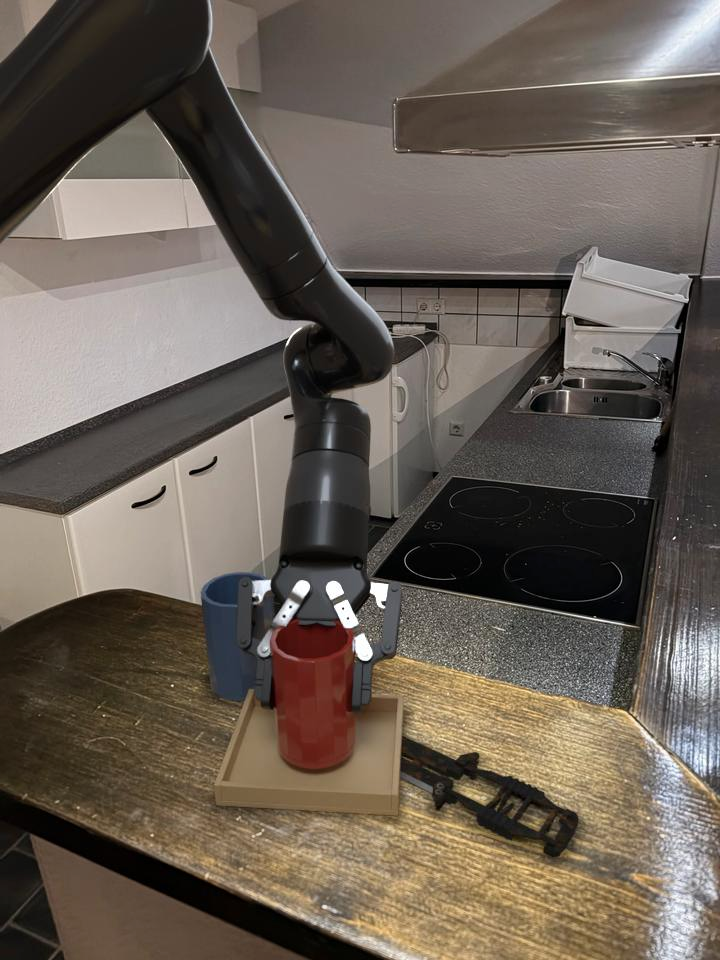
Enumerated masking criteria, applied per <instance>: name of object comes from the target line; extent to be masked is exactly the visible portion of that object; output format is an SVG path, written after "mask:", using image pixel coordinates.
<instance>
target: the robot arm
mask: <svg viewBox="0 0 720 960" xmlns="http://www.w3.org/2000/svg"><path fill="white" fill-rule="evenodd" d="M212 33H213V11H212V5H211V0H55V1H54V2H53V3H52V4H51V6H50V7H49V8H48V9H47V11H46V12H45V13H44V15H43V16H42V17H41V18H40V19H39V20H38V22H37V23H35V25H34V26H33V27H32V29H31V30H30V31H29V32H28V33H27V34H26V36H25V37H23V39H22V40H21V41H20V42H19V43H18V44H17V46H16V47H15V48H14V49H12V50H11V52H9V54H8V55H7V56H6V57H4V59H3V60H2V61H0V246H1V245H2V244H3V243H4V242H6V240H7V239H8V238H10V236H12V235H13V233H14V232H15V231H16V230H17V229H19V227H20V226H22V224H23V223H24V222H25V221H26V220H27V219H28V218H29V217H30V216H31V215H32V214H33V213H34V212H36V210H37V209H38V208H39V207H40V205H42V203H43V202H45V200H46V199H47V198H48V197H49V195H51V193H52V192H53V191H54V190H55V189H56V188H57V187H58V185H59V184H61V182H62V181H63V180H64V179H65V178H66V176H67V175H68V174H69V173H70V172H71V170H73V168H75V166H76V165H77V164H79V162H81V160H82V159H83V158H85V157H86V156H87V155H88V154H89V153H90V152H91V151H93V150H94V149H95V148H96V147H98V146H99V145H100V144H101V143H103V142H104V141H106V140H107V139H108V138H109V137H111V136H112V135H113V134H115V133H116V132H118V131H119V130H120V129H122V128H123V127H125V126H126V125H128V123H130V122H131V121H133V120H134V119H135V118H137V117H138V116H140V115H141V114H142V113H144V112H145V113H146V115H147V116H148V117H149V118H150V120H151V121H152V123H153V124H154V125H155V127H157V129H158V131H159V132H160V133H161V135H162V136H163V138H164V139H165V141H166V142H167V143H168V145H169V146H170V148H171V150H172V151H173V152H174V154H175V156H176V157H177V159H178V160H179V161H180V163H181V164H182V167H183V168H184V170H185V172H186V173H187V175H188V177H189V178H190V180H191V182H192V183H193V185H194V187H195V189H196V191H197V192H198V194H199V197H200V198H201V200H202V201H203V203H204V205H205V207H206V208H207V210H208V213H209V214H210V216H211V218H212V220H213V222H214V223H215V224H214V225H216V227H217V229H218V230H219V233H220V234H221V236H222V238H223V240H224V241H225V244H226V246H227V247H228V249H229V251H230V253H231V254H232V256H233V257H234V259H235V261H236V262H237V264H238V265H239V268H240V269H241V271H242V272H243V273H244V276H246V278H247V281H249V283H250V285H251V286H252V288H253V289H254V292H256V294H257V296H258V297H259V299H260V301H261V302H262V304H263V305H264V307H265V308H266V309H267V311H268V312H269V313H270V314H271V315H272V316H273V317H274V318H276V319H278V320H281V321H288V322H301V321H302V322H311V323H309V324H306V325H303V326H301V327H299V328H297V329H296V330H294V332H292V334H291V335H290V336H289V338H288V340H287V342H286V344H285V347H284V350H283V357H282V359H283V360H282V361H283V370H284V373H285V377H286V381H287V386H288V391H289V396H290V403H291V409H292V415H293V422H294V431H293V432H294V433H293V440H292V441H293V442H292V449H291V450H292V451H291V463H290V469H289V474H288V477H287V481H286V487H285V494H284V504H283V513H282V525H281V536H280V544H279V545H280V546H279V556H278V564H277V568H276V571H275V572H274V574H273V575H272V577H271V579H269V580H257V581H252V580H251V579H250V578H249V577H242V578H241V579H240V580H239V582H238V599H237V628H236V644H237V646H238V647H239V648H241V649H242V650H243V651H244V652H245V653H246V654H250V655H253V656H255V657H256V659H257V667H256V677H255V686H254V695H255V699H256V700H258V701H259V702H261V708H263V709H265V710H273V709H274V698H273V683H272V669H271V654H270V638H271V636H272V633H273V631H274V630H275V629H277V628H278V627H279V626H285V628H286V627H287V625H288V624H289V623H290V622H291V621H292V620H293V619H296V620H301V621H299V622H298V625H300V626H307V627H310V626H314V625H321V626H324V627H336V624H335V623H334V622H332V621H341V622H342V624H343V626H344V628H351V630H352V632H353V634H354V647H355V655H356V661H355V662H354V676H353V692H352V712H353V714H362V711H363V706H364V707H369V705H370V702H371V698H372V694H373V693H372V692H373V672H374V667H375V665H376V664H378V663H379V662H384V661H385V660H386V661H387V660H388V661H390V660H393V659H395V657H396V655H397V650H398V641H399V633H400V632H399V631H400V626H401V625H400V623H401V615H402V607H403V597H404V595H403V586H402V584H401V583H400V582H398V581H396V580H395V581H394V580H393V581H391V582H389V583H388V584H386V583H379V582H371V580H370V577H369V575H368V552H369V533H370V532H369V531H370V517H371V513H372V506H371V482H370V458H371V457H370V454H371V453H370V452H371V435H372V433H371V432H372V426H371V418H370V415H369V413H368V412H367V410H366V409H365V408H364V407H363V406H362V405H361V404H359V403H357V402H356V401H353V400H349V399H345V398H340V397H332V396H333V394H337V393H340V392H345V391H349V390H353V389H358V388H363V387H368V386H371V385H374V384H375V385H376V384H378V383H379V382H382V381H383V380H384V379H385V378H386V377H388V375H389V374H390V373H391V371H392V368H393V366H394V363H395V345H394V341H393V338H392V335H391V332H390V330H389V328H388V327H387V325H386V323H385V322H384V320H383V318H382V317H381V316H380V315H379V313H377V311H376V310H375V309H374V308H373V307H372V306H371V305H370V304H369V303H368V302H367V301H366V300H365V299H364V298H363V297H362V296H361V295H360V294H359V293H358V292H357V291H356V290H355V289H354V288H353V287H352V285H351V284H350V283H349V282H348V281H347V280H346V279H345V278H344V277H343V276H342V275H341V274H340V273H339V272H338V271H337V270H336V269H335V268H334V266H333V264H332V263H331V261H330V260H329V258H328V255H327V254H326V252H325V250H324V248H323V246H322V244H321V242H320V241H319V239H318V237H317V235H316V234H315V232H314V230H313V228H312V225H311V224H310V223H309V220H308V219H307V218H306V216H305V214H304V212H303V211H302V209H301V207H300V206H299V204H298V202H297V201H296V199H295V198H294V196H293V194H292V193H291V191H290V190H289V188H288V186H287V185H286V183H285V182H284V180H283V179H282V177H281V176H280V174H279V173H278V171H277V170H276V168H275V167H274V166H273V164H272V162H271V161H270V159H269V158H268V157H267V155H266V154H265V152H264V151H263V149H262V148H261V146H260V144H259V142H257V140H256V138H255V137H254V135H253V133H252V132H251V130H250V128H249V127H248V126H247V124H246V122H245V120H244V117H242V115H241V113H240V111H239V109H238V107H237V105H236V104H235V102H234V100H233V98H232V96H231V93H230V92H229V90H228V88H227V86H226V84H225V81H224V79H223V77H222V75H221V73H220V72H221V71H220V70H219V68H218V65H217V62H216V60H215V58H214V54H213V53H212V50H211V47H210V45H211V41H212ZM271 593H273V594H274V598H275V599H276V601H277V602H278V604H279V606H280V607H281V608H280V609H279V611H278V612H277V614H275V618H274V620H273V621H272V623H271V626H270V629H269V630H268V632H267V633H266V635H265V636H264V638H263V639H262V641H261V640H258V639H257V610H258V607H261V606H262V605H263V604H264V603H265V599H266V597H267V595H269V594H271ZM371 597H372V598H374V599H375V600H376V605H377V608H378V609H379V610H380V611H381V612H383V621H382V628H381V636H380V641H379V642H375V643H372V644H370V643H369V642H368V639H367V638H366V636H365V633H364V631H363V629H362V626H361V624H360V623H359V620H358V618H357V617H356V615H357V614H358V613H359V611H360V610H361V609H362V608H363V606H364V605H365V604H366V603H367V601H368V600H369V599H370V598H371Z"/></svg>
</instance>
